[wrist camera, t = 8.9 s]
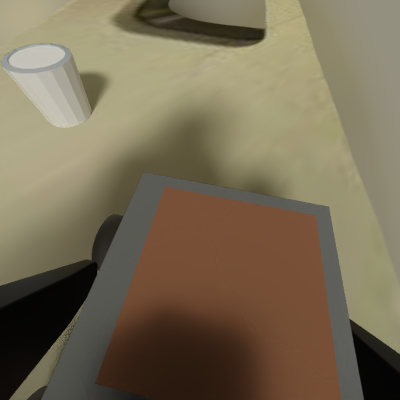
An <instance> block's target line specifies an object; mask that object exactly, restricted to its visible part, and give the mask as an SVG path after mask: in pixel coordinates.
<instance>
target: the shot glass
mask: <svg viewBox="0 0 400 400" xmlns="http://www.w3.org/2000/svg"><path fill="white" fill-rule="evenodd" d="M1 63H2V67H3V68H4V69H5V70H6V72H7V73H8V74H9V75H10V76H11V78H12V79H13V80H14V81H15V82H16V83H17V85H18V86H19V87H20V88H21V89H22V91H23V92H24V93H25V94H26V95H27V96H28V98H29V99H30V100H31V101H32V102H33V104H34V105H35V106H36V107H37V108H38V109H39V111H40V112H41V113H42V114H43V115H44V117H45V118H46V119H47V120H48V121H49V122H50V123H51V124H53V125H54V126H58V127H72V126H76V125H79V124H81V123H83V122H85V121H86V120H87V119H88V118H89V117H90V116H91V112H92V110H91V107H90V104H89V101H88V98H87V95H86V92H85V90H84V87H83V84H82V81H81V78H80V75H79V72H78V69H77V67H76V64H75V61H74V58H73V55H72V53H71V51H70V49H68V48H66V47H64V46H62V45H57V44H34V45H27V46H24V47H21V48H17V49H14V50H13V51H11V52H9V53H8V54H6V55H5V56H4V57H3V59H2V60H1Z"/></svg>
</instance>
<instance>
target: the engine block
mask: <svg viewBox="0 0 400 400" xmlns="http://www.w3.org/2000/svg"><path fill="white" fill-rule="evenodd" d="M41 400H364V398H363V392H362V387H361V381H360V376H359V370H358V365H357V359H356V354H355V348H354V343H353V337H352V332H351V326H350V321H349V315H348V310H347V304H346V299H345V293H344V288H343V282H342V277H341V271H340V266H339V260H338V255H337V249H336V244H335V238H334V233H333V227H332V222H331V216H330V211H329V207H328V206H322V205H317V204H312V203H306V202H301V201H296V200H290V199H285V198H279V197H274V196H269V195H263V194H258V193H253V192H247V191H242V190H237V189H231V188H226V187H221V186H215V185H210V184H205V183H199V182H194V181H189V180H183V179H178V178H173V177H167V176H162V175H157V174H151V173H146V172H143V174H142V176H141V178H140V181H139V183H138V185H137V187H136V190H135V192H134V194H133V196H132V199H131V201H130V203H129V205H128V207H127V210H126V212H125V214H124V216H123V219H122V221H121V223H120V225H119V228H118V230H117V232H116V234H115V236H114V239H113V241H112V243H111V245H110V248H109V250H108V252H107V254H106V256H105V259H104V261H103V263H102V265H101V268H100V270H99V272H98V274H97V277H96V279H95V281H94V283H93V285H92V288H91V290H90V292H89V294H88V297H87V299H86V301H85V303H84V306H83V308H82V310H81V312H80V314H79V317H78V319H77V321H76V323H75V326H74V328H73V330H72V332H71V335H70V337H69V339H68V341H67V343H66V346H65V348H64V350H63V352H62V355H61V357H60V359H59V361H58V364H57V366H56V368H55V370H54V372H53V375H52V377H51V379H50V381H49V384H48V386H47V388H46V390H45V392H44V395H43V397H42V399H41Z"/></svg>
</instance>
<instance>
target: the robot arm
mask: <svg viewBox="0 0 400 400" xmlns="http://www.w3.org/2000/svg"><path fill="white" fill-rule="evenodd" d="M97 268H98V264H97V262H96V261H92V260H83V261H80V262H76V263H73V264H70V265H67V266H63V267H60V268H57V269H54V270H50V271H47V272H44V273H41V274H37V275H34V276H31V277H28V278H24V279H21V280H18V281H15V282H11V283H8V284H5V285H2V286H0V400H9V399H10V398H11V396H12V395H13V394H14V393H15V391H16V390H17V389H18V388H19V386H20V385H21V384H22V383H23V381H24V380H25V379H26V378H27V376H28V375H29V374H30V373H31V371H32V370H33V369H34V368H35V366H36V365H37V364H38V363H39V361H40V360H41V359H42V358H43V356H44V355H45V354H46V353H47V351H48V350H49V349H50V348H51V346H52V345H53V344H54V343H55V341H56V340H57V339H58V338H59V336H60V335H61V334H62V333H63V331H64V330H65V329H66V327H67V326H68V325H69V324H70V322H71V321H72V319H73V318H74V316H75V315H76V313H77V312H78V310H79V309H80V307H81V306H82V304H83V303H84V301H85V300H86V298H87V297H88V294H89V292H90V290H91V288H92V285H93V283H94V281H95V279H96V277H97ZM349 321H350V326H351V332H352V337H353V343H354V348H355V354H356V359H357V365H358V370H359V376H360V381H361V387H362V392H363V398H364V400H400V354H399V353H397V352H396V351H395V350H393V349H392V348H390V347H389V346H388V345H386V344H385V343H383V342H382V341H380V340H379V339H378V338H376V337H375V336H373V335H372V334H370V333H369V332H368V331H366V330H365V329H363V328H362V327H361V326H359V325H358V324H356V323H355V322H353V321H352V320H351V319H349Z"/></svg>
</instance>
